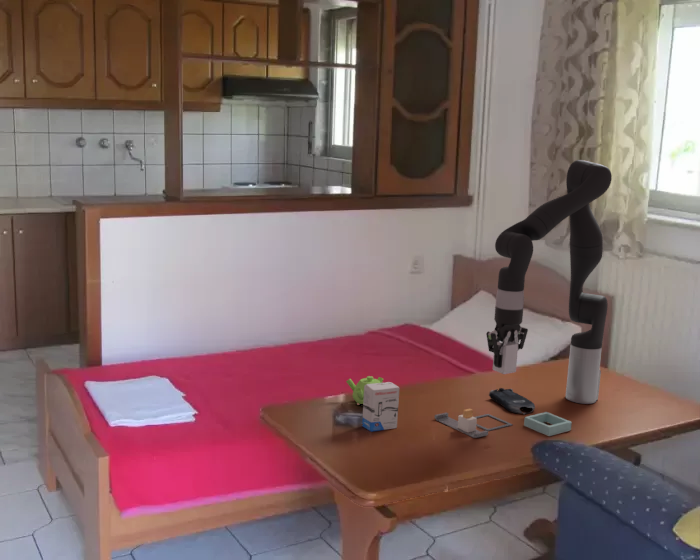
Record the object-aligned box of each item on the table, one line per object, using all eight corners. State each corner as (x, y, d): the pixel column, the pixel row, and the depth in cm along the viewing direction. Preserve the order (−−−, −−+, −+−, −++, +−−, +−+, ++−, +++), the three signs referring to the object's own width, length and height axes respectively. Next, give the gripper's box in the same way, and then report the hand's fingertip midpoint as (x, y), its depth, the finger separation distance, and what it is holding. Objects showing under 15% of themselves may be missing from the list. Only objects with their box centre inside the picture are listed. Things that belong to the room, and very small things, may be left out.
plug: (504, 367, 227) (506, 335, 225) (515, 371, 223) (518, 339, 222) (492, 369, 225) (494, 337, 223) (504, 374, 221) (506, 341, 219)
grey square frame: (488, 414, 233) (488, 413, 233) (512, 425, 225) (512, 424, 225) (463, 420, 228) (463, 419, 228) (487, 431, 220) (487, 430, 220)
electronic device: (485, 404, 247) (514, 414, 233) (487, 386, 247) (516, 395, 233) (511, 406, 251) (540, 416, 237) (513, 388, 251) (542, 397, 237)
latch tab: (465, 425, 222) (467, 406, 221) (475, 430, 219) (477, 411, 218) (457, 427, 221) (459, 408, 220) (467, 432, 217) (469, 413, 216)
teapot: (392, 410, 233) (394, 382, 232) (354, 411, 230) (355, 383, 229) (381, 397, 244) (382, 370, 242) (344, 399, 241) (345, 371, 239)
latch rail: (446, 416, 230) (446, 412, 230) (487, 436, 217) (488, 431, 216) (434, 419, 227) (434, 414, 227) (475, 439, 214) (476, 434, 214)
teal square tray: (545, 420, 231) (546, 411, 230) (570, 430, 224) (571, 421, 223) (523, 425, 226) (524, 417, 225) (548, 436, 218) (549, 427, 218)
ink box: (370, 432, 215) (372, 390, 213) (361, 426, 220) (363, 384, 217) (397, 428, 219) (400, 386, 217) (388, 422, 224) (391, 381, 221)
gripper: (500, 311, 213) (495, 373, 217) (538, 305, 221) (532, 365, 225) (480, 305, 219) (476, 365, 223) (518, 300, 227) (513, 358, 231)
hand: (504, 365), depth 224 cm, fingers closed on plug, 4 cm apart
